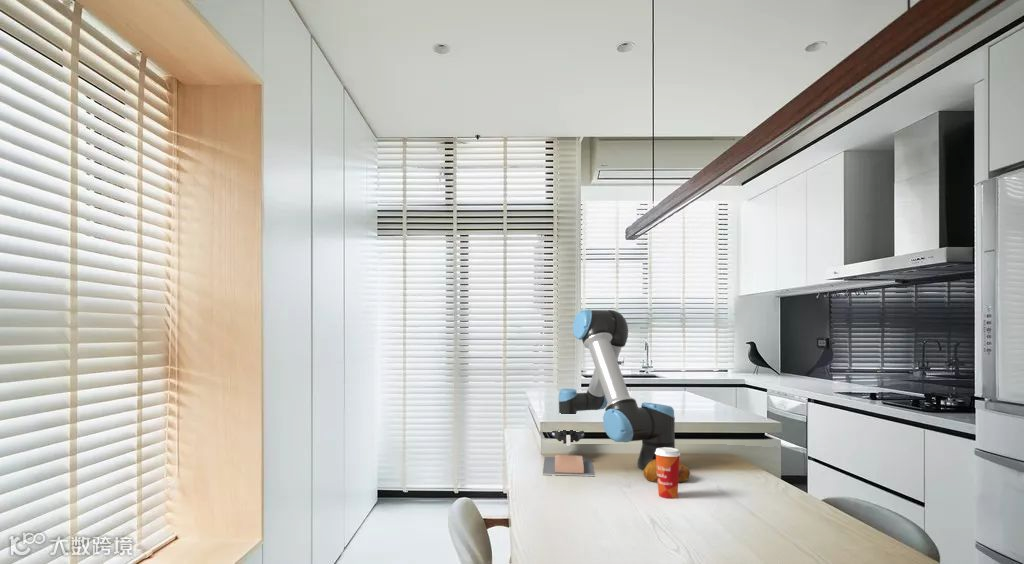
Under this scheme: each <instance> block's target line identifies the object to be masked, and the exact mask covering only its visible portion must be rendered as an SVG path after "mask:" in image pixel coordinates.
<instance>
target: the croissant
mask: <svg viewBox="0 0 1024 564" xmlns="http://www.w3.org/2000/svg"><path fill="white" fill-rule="evenodd" d="M642 471H643V477H644V478H645V479H646V480H647V481H648V482H651V483H658V480H657V465H656V459H654V460H651V461H650V462H649V463H648V464H647V466H646V467H645V469H644V470H642ZM690 475H691V472H690V469H689V468H688V467H687V466H686V465H684V464H683V463H681V461H680V460H679V476H678V483H680V482H683V483H684V482H686V481H688V480H689V479H690Z"/></svg>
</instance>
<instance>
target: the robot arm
mask: <svg viewBox="0 0 1024 564" xmlns="http://www.w3.org/2000/svg"><path fill="white" fill-rule="evenodd" d="M572 333H573V336H574V338H575V339H577V340H579V341H581V340H582V343H583V347H584V348H585V349H588V350H589V353H590V355H591V358H592V362H593V364H594V371H593V373H592V376H591V379H590V382H589V385H588V388H587V390H586V392H577V390H576V389H575V388H562V389H560V390H559V391H558V392H559V393H558V399H557V400H558V414H559V413H561V414H576V413H577V412H582V411H584V412H585V411H600V410H605V411H604V413H603V416H602V420H603V421H602V425H603V429H604V431H605V434H606V435H607V437H608V438H609V439H610V440H612V441H614V442H615V443H630V442H639V441H641V443H642V444H641V448H640V451H639V456H638V458H637V468H639V469H640V470H642V471H644V469H645V467H646V466H647V464H648V463H649V462H650V461H651V460H654V459H656V454H655V452H656V449H657V448H664V447H668V448H675V449H676V446H675V445H676V442H675V432H676V431H675V428H676V427H675V421H676V420H675V419H676V418H675V409H674V408H673V407H672V406H671V405H667V404H661V403H652V402H642V403H641V407H639V406H638V403H637V400H636V399H635V398H633V397H631V396H630V393H629V391H628V388H627V385H626V381H625V380H624V376H623V374H622V373H623V372H621V369H620V365H619V362H618V359H619V356H620V353H621V350H622V348H624V347H625V346H626V343H627V341H628V338H629V326H628V322H627V320H626V318H625V317H624V315H622V314H621V313H620V312H618V311H616V310H614V309H582V310H579V311H578V312H577V313H576V315H575V316H574V320H573V325H572ZM578 431H579V432H576V431H573V430H570V431H566V430H563V431H560V433H559V432H558V430H555V431H552V430H551V437H552V438H554V439H556V440H557V441H558V442H562V443H563V444H564V445H565V444H566V447H567V446H568V447H569V446H570V447H571V443H574V442H575V443H577V442H579V441H580V440H582V439H583V438H585V431H584V430H578Z"/></svg>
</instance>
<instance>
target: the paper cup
mask: <svg viewBox="0 0 1024 564" xmlns="http://www.w3.org/2000/svg"><path fill="white" fill-rule="evenodd" d="M655 454H656V465H657V480H658V482H657V489H658V492H657V493H658V497H660V498H664V499H668V500H670V499H677V498H678V495H679V493H678V492H679V482H678V476H679V461H680V456H681V453H680V450H679V449H678V448H676V447H675V448H668V447H664V448H657V449H656V452H655Z"/></svg>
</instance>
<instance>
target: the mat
mask: <svg viewBox="0 0 1024 564" xmlns="http://www.w3.org/2000/svg"><path fill="white" fill-rule="evenodd" d="M543 459H544V460H543V468H542V475H549V476H552V475H555V476H557V477H559V476H560V477H562V476H563V477H579V476H586V477H588V478H589V477H592V478H593V477H596V473H595V470H594V465H593V461H592V457H582V459H583V465H584V473H556V472H555V456H544V458H543ZM552 477H553V476H552Z"/></svg>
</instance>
